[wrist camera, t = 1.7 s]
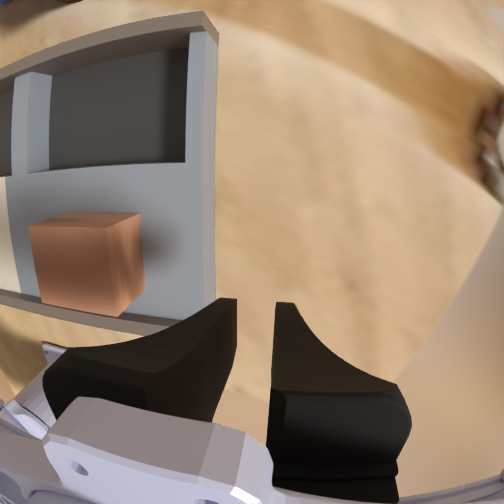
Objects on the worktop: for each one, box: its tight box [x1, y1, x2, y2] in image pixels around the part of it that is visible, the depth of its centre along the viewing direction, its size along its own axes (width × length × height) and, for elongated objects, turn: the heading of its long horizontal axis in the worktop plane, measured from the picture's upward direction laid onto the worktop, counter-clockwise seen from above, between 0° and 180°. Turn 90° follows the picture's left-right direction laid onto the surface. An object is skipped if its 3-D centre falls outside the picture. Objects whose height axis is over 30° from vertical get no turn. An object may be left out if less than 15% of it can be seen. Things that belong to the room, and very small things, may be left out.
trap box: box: [0, 11, 219, 336], centre depth 20 cm, size 20×30×4 cm, turn 89°
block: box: [29, 213, 146, 317], centre depth 18 cm, size 5×6×4 cm
